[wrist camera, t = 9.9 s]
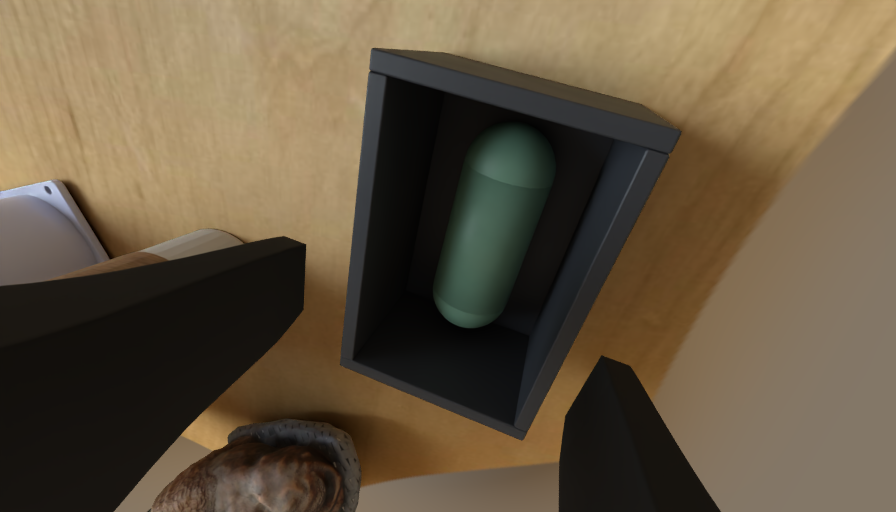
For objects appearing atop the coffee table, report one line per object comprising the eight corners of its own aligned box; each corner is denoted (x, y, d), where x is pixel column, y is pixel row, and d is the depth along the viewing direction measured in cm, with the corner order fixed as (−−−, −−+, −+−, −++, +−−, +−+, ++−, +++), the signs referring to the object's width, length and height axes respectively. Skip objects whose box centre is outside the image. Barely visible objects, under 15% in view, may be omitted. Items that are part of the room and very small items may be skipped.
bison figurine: (353, 397, 23) (170, 557, 15) (399, 498, 24) (249, 703, 15) (253, 403, 30) (89, 514, 21) (291, 481, 30) (147, 616, 22)
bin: (537, 340, 18) (522, 441, 13) (398, 289, 19) (338, 365, 14) (643, 104, 12) (683, 130, 8) (442, 52, 13) (370, 47, 9)
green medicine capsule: (500, 309, 17) (490, 355, 14) (437, 287, 17) (416, 328, 15) (569, 128, 13) (571, 146, 10) (485, 104, 13) (467, 116, 11)
